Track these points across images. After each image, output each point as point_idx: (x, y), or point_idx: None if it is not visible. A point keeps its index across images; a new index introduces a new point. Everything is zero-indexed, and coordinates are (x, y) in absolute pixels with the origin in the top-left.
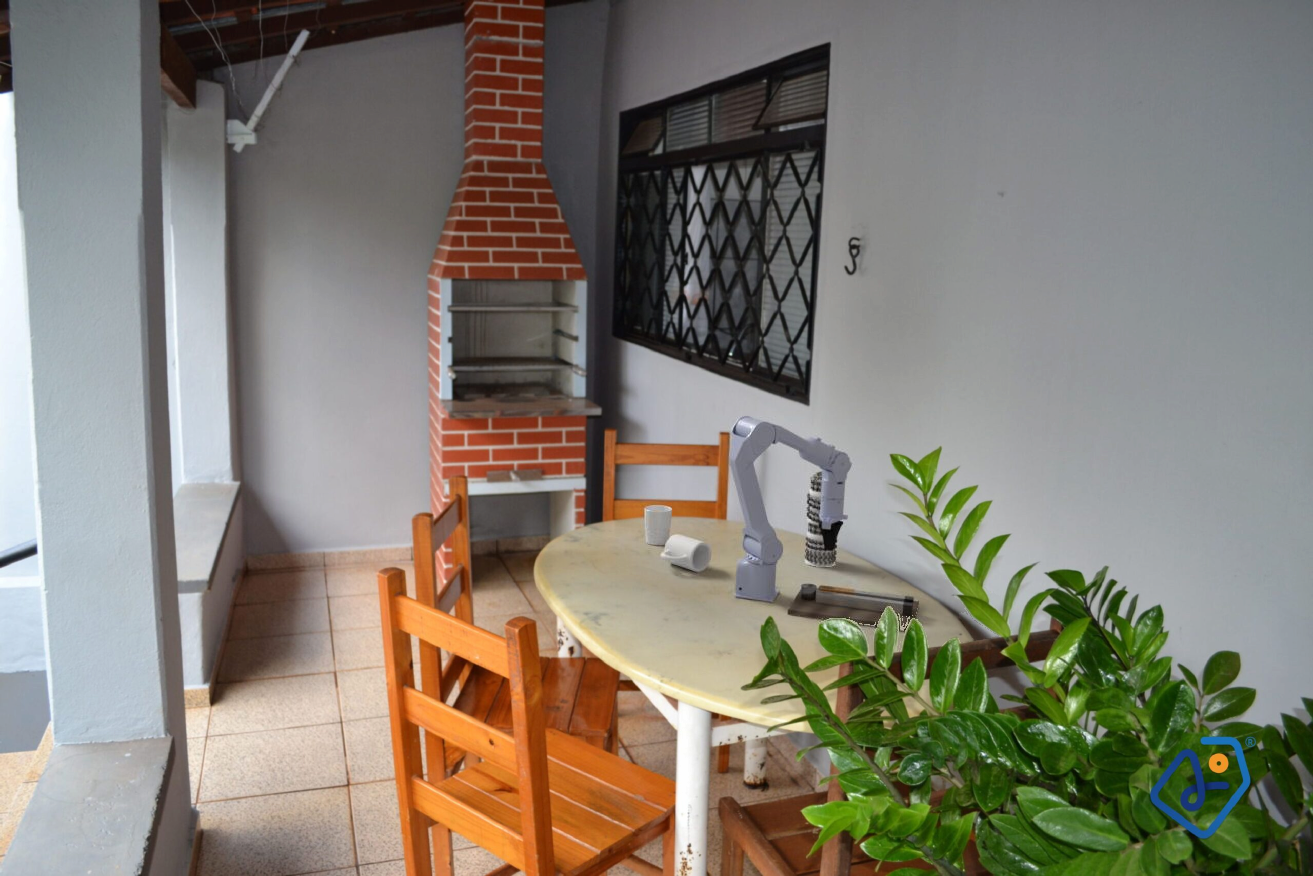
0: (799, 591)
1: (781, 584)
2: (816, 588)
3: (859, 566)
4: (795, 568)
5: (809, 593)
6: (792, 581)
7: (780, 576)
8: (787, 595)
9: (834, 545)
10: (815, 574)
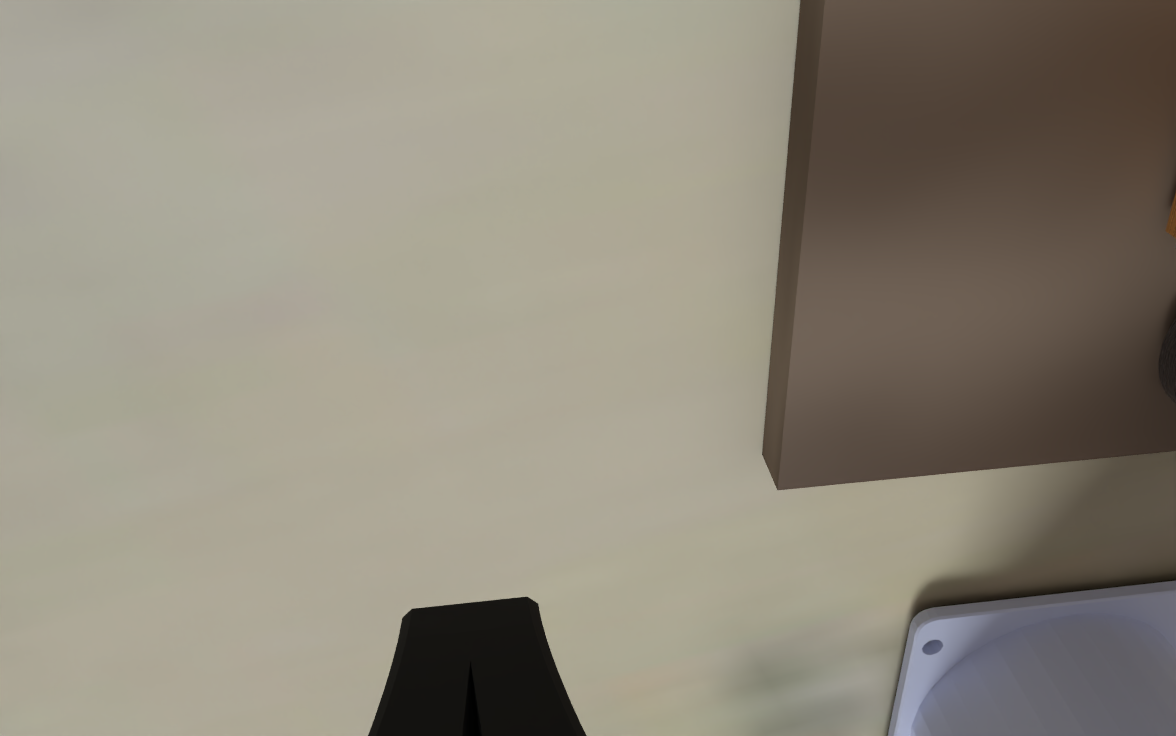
0: (996, 468)
1: (652, 655)
2: (831, 342)
3: None
4: (29, 705)
5: None
6: None
7: None
8: (971, 526)
9: (562, 689)
10: (84, 493)
